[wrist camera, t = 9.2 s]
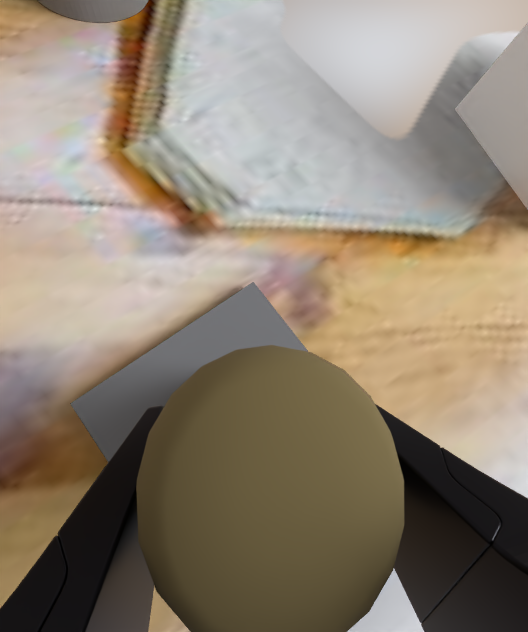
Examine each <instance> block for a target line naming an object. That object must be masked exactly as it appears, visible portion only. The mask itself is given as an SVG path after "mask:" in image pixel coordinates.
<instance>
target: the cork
mask: <svg viewBox="0 0 528 632" xmlns="http://www.w3.org/2000/svg"><path fill="white" fill-rule="evenodd" d="M136 492H137V517H138V542H139V544H140V547H141V550H142V552H143V555H144V558H145V561H146V563H147V566H148V569H149V572H150V574H151V577H152V580H153V583H154V585H155V588H156V591H157V592H158V594H159V595H160V596H161V597H162V598H163V600H164V601H165V602H166V603H167V604H168V605H169V607H170V608H171V609H172V610H173V611H174V613H175V614H176V615H177V616H178V617H179V619H180V620H181V621H182V622H183V623H184V624H185V626H186V627H187V628H188V629H189V630H190V631H191V632H347V631H348V630H349V629H350V628H351V627H352V626H354V625H355V624H356V623H357V622H358V621H359V620H360V619H361V618H362V617H364V616H365V615H366V614H367V613H368V612H369V611H370V609H371V607H372V606H373V604H374V602H375V600H376V599H377V597H378V595H379V593H380V592H381V590H382V588H383V587H384V585H385V583H386V581H387V580H388V578H389V576H390V574H391V573H392V571H393V568H394V564H395V560H396V556H397V552H398V548H399V544H400V540H401V536H402V532H403V528H404V479H403V475H402V471H401V467H400V463H399V460H398V456H397V452H396V448H395V444H394V441H393V437H392V435H391V432H390V430H389V428H388V426H387V424H386V423H385V421H384V419H383V417H382V416H381V414H380V412H379V410H378V409H377V407H376V405H375V403H374V402H373V400H372V398H371V396H370V395H369V394H368V393H367V392H366V391H365V390H364V389H363V388H362V387H361V386H360V385H359V384H358V383H357V382H356V381H355V380H354V379H353V378H352V377H351V376H350V375H349V374H348V373H347V372H346V371H345V370H343V369H341V368H339V367H338V366H336V365H334V364H332V363H330V362H328V361H326V360H324V359H323V358H321V357H319V356H317V355H315V354H313V353H311V352H307V351H302V350H297V349H291V348H286V347H280V346H275V345H267V346H259V347H252V348H245V349H238V350H234V351H232V352H230V353H228V354H226V355H224V356H222V357H220V358H218V359H216V360H214V361H212V362H209V363H207V364H205V365H203V366H202V367H200V368H199V369H198V370H197V371H196V372H195V373H194V374H193V375H192V376H191V377H190V378H189V379H187V380H186V381H185V382H184V383H183V384H182V385H181V386H180V387H179V388H178V389H177V390H176V391H175V392H173V393H172V395H171V396H170V398H169V400H168V401H167V403H166V405H165V406H164V408H163V410H162V411H161V413H160V415H159V416H158V418H157V420H156V422H155V423H154V425H153V427H152V428H151V430H150V432H149V434H148V438H147V442H146V446H145V450H144V454H143V458H142V461H141V465H140V469H139V473H138V477H137V486H136Z"/></svg>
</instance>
